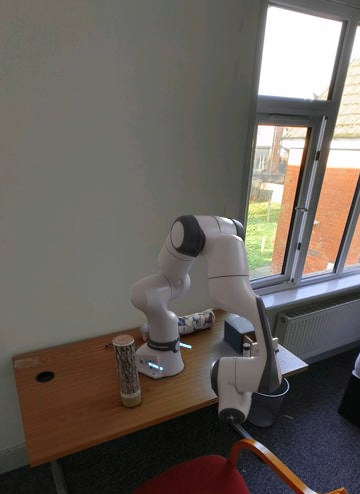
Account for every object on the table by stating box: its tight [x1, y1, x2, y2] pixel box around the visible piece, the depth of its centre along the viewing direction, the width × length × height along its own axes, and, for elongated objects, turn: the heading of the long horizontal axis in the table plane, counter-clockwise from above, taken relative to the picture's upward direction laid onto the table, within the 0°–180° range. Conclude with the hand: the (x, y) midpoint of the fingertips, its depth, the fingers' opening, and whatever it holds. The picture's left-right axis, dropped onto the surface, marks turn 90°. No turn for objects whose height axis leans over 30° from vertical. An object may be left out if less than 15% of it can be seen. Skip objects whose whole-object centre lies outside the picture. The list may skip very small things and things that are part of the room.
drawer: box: [242, 332, 280, 357], centre depth 147 cm, size 19×12×8 cm, turn 21°
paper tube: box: [112, 334, 142, 408], centre depth 120 cm, size 7×7×25 cm
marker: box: [242, 343, 250, 357], centre depth 134 cm, size 3×3×14 cm
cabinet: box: [223, 316, 255, 355], centre depth 157 cm, size 15×13×10 cm
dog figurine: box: [139, 322, 150, 341], centre depth 165 cm, size 5×13×11 cm, turn 92°
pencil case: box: [177, 308, 216, 337], centre depth 169 cm, size 22×8×10 cm, turn 117°
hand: (243, 360), depth 120 cm, fingers open, 8 cm apart
